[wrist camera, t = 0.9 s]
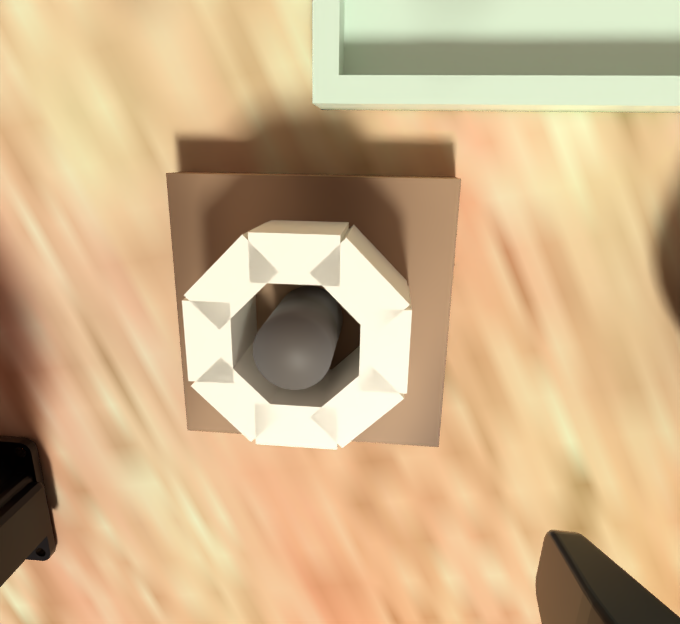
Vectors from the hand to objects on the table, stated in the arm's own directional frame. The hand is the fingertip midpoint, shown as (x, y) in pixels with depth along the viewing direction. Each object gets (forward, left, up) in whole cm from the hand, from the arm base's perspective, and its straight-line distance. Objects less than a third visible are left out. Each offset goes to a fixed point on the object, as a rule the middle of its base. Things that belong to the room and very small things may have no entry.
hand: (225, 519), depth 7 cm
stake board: (-1, -1, -13) cm, 13 cm away
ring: (-1, -1, -11) cm, 11 cm away
